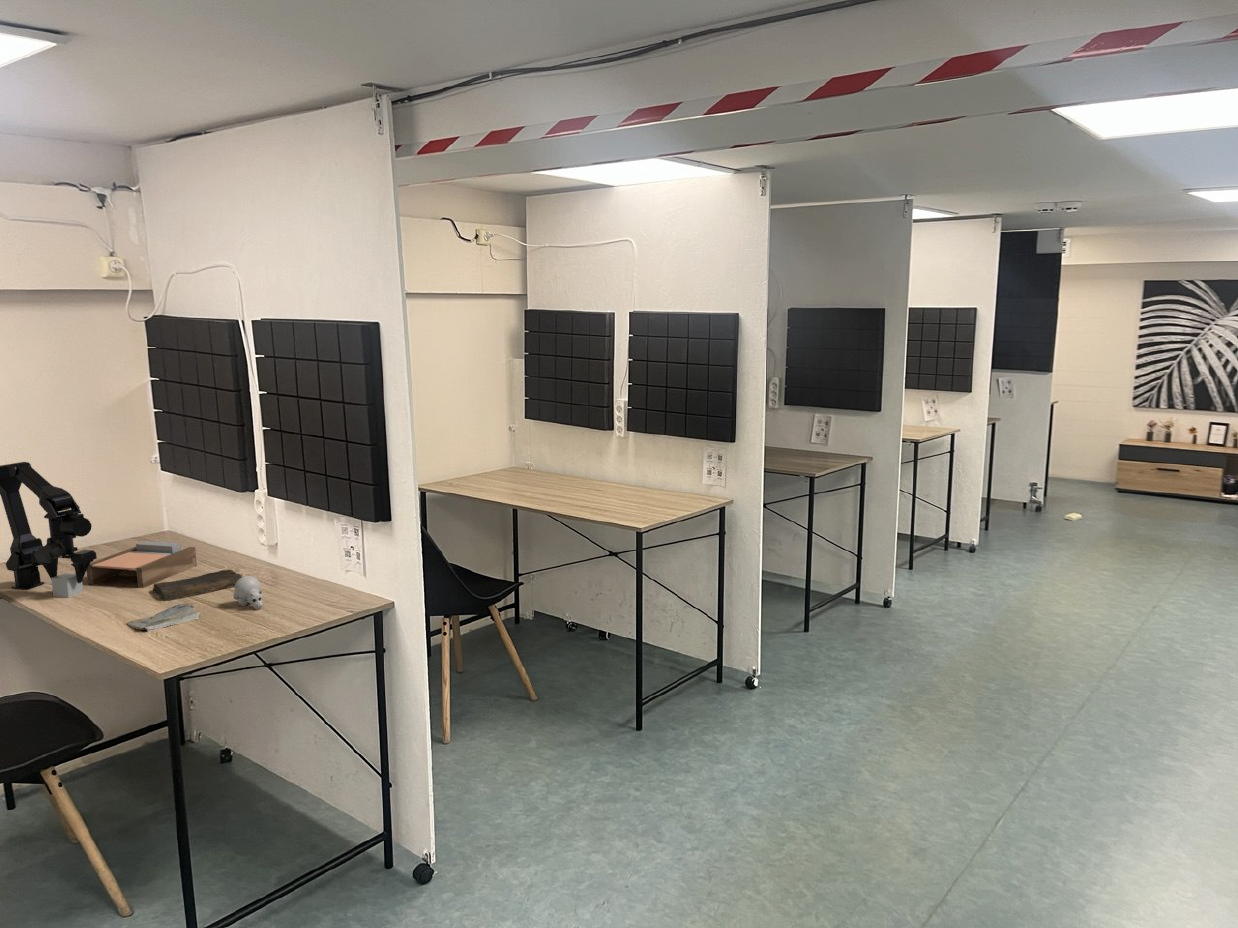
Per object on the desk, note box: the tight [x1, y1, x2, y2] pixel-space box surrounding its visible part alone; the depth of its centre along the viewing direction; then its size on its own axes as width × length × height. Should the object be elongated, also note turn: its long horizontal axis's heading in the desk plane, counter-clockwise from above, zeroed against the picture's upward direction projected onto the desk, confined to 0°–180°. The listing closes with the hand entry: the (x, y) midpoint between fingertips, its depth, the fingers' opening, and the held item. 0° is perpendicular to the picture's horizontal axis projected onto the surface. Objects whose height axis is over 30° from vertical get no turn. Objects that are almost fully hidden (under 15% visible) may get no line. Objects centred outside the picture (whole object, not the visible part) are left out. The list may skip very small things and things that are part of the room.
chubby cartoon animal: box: [233, 575, 264, 610], centre depth 254 cm, size 7×12×8 cm, turn 45°
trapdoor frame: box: [86, 546, 198, 589], centre depth 285 cm, size 21×25×6 cm
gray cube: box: [50, 572, 84, 598], centre depth 265 cm, size 6×6×6 cm
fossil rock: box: [125, 602, 200, 632], centre depth 244 cm, size 18×15×2 cm
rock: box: [152, 569, 243, 602], centre depth 272 cm, size 25×4×15 cm
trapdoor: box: [92, 540, 182, 571], centre depth 283 cm, size 16×22×5 cm
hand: (66, 582), depth 265 cm, fingers open, 9 cm apart
